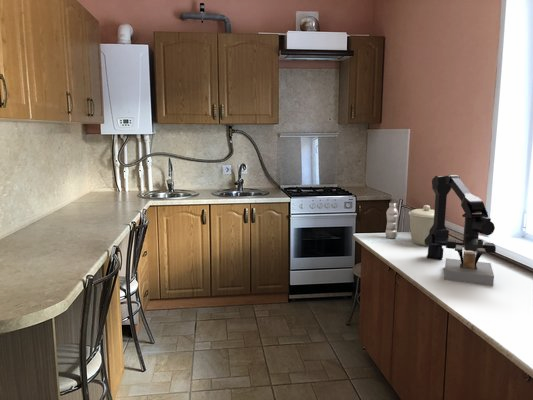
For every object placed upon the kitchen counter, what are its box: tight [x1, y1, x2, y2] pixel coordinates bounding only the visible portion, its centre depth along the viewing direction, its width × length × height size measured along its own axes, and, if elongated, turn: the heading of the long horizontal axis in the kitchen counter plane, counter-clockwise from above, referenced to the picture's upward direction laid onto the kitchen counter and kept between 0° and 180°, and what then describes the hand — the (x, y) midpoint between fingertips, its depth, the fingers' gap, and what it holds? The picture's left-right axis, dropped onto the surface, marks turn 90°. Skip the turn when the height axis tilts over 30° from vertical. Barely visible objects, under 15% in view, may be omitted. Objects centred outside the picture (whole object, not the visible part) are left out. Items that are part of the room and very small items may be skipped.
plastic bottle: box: [384, 202, 399, 239], centre depth 247 cm, size 6×7×20 cm
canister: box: [408, 204, 435, 247], centre depth 235 cm, size 18×18×21 cm
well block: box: [444, 257, 495, 286], centre depth 186 cm, size 18×18×4 cm
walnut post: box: [462, 250, 476, 269], centre depth 186 cm, size 4×4×8 cm
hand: (468, 265), depth 186 cm, fingers closed on walnut post, 4 cm apart
